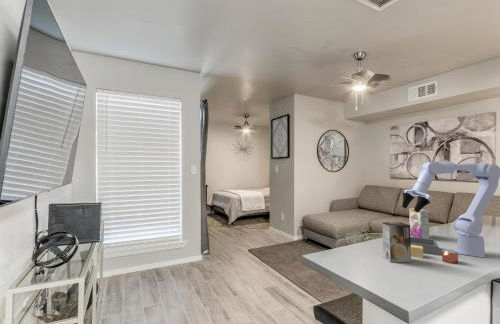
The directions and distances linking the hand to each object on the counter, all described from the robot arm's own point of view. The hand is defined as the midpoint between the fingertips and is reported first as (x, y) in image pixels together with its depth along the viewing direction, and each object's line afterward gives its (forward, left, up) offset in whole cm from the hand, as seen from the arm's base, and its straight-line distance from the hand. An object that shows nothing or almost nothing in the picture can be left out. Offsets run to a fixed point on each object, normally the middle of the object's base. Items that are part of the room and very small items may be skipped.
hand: (409, 209), depth 121 cm
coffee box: (+6, +15, -21) cm, 26 cm away
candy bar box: (-5, -35, -21) cm, 41 cm away
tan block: (-2, +4, -21) cm, 21 cm away
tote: (-4, -9, -21) cm, 23 cm away
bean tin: (-14, +5, -21) cm, 26 cm away
